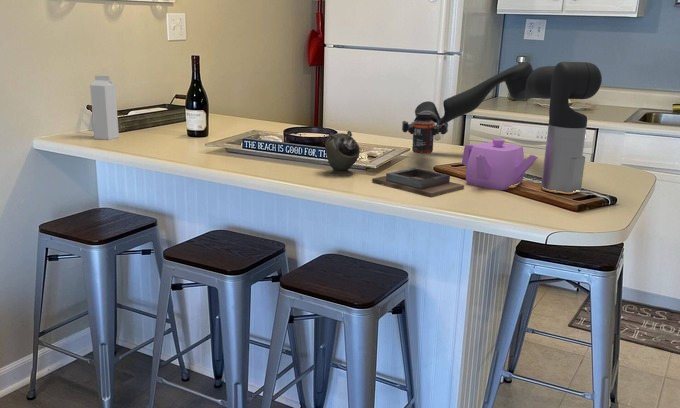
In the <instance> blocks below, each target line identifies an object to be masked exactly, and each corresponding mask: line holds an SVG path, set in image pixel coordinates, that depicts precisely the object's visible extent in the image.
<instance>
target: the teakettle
mask: <svg viewBox="0 0 680 408" xmlns="http://www.w3.org/2000/svg"><path fill="white" fill-rule="evenodd" d="M505 141H506V140H505V139H503V138H493V139H492V141H489V142H484V143H479V144H473V143H472V144H470V143H469V144H465V145H464V147H463V155H462V159H461V164H462V165H464V167H466V169H465V170H466V172H465V182H466V184H467V185H471V186H475V187H479V188H484V189H491V190H496V191H506V190H509V189H508V187H509V186H511V185H514V184H517V183H519V182H521V181H522V182H523V180H524V176H525V174H526V173H527V171H528V170H529V169H531V166H532V165H534V163H535V161H536V160H537V159H538V158H539V157H538V156H537V155H533V154H530V155H529V156H528V157H527V158H526V159H525V154H524V147H523V146H522V145H517V144H511V143H510V144H509V143H505Z"/></svg>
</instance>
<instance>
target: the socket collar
mask: <svg viewBox="0 0 680 408" xmlns="http://www.w3.org/2000/svg"><path fill="white" fill-rule="evenodd" d="M385 176H386V181H389V182H393V183H397V184H401V185H405V186H409V187H413V188H417V189H426V188H430V187H434V186H438V185H442V184H447V183H450V182H451V181H450V179H451V175H449V174H445V173H439V172H436V171H430V170H427V169H422V168H417V167H412V168H407V169H403V170H397V171H392V172H387V173H385ZM410 177H420V178H424V179H423V180H419V179H415V178H410Z"/></svg>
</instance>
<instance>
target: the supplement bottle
mask: <svg viewBox="0 0 680 408" xmlns="http://www.w3.org/2000/svg"><path fill="white" fill-rule="evenodd" d="M413 122H414V125H413V126H414V127H413V134H412V146H411V147H412V152H413V153H414V154H419V155H420V154H422V155H423V154H424V155H425V154H426V155H427V154H431V153H433V151H434V138H435V137H434V136H435V135H433V131H434V122H433V121H432V120H431V113H417V120H416V121H414V120H413Z"/></svg>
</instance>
